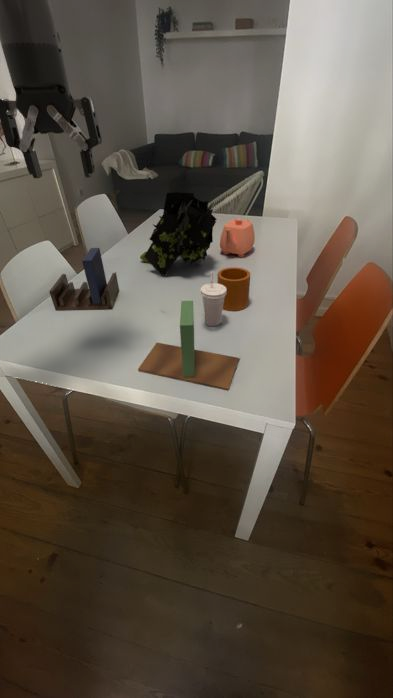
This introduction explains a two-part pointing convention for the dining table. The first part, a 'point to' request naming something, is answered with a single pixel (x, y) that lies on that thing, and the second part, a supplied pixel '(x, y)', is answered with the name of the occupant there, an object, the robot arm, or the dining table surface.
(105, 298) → the book rack
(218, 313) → the smoothie
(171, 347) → the brown wooden board
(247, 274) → the mug
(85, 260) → the navy book
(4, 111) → the robot arm
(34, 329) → the dining table surface
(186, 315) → the green book
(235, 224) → the teapot
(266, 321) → the dining table surface
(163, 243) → the potted plant
